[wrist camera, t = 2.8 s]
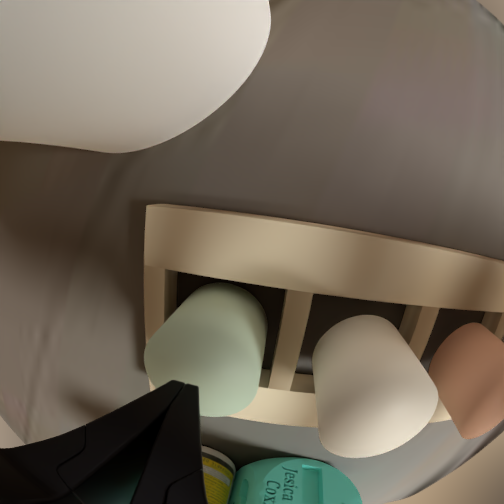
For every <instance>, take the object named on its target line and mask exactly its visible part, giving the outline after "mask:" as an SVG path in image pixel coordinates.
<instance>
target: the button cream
mask: <svg viewBox="0 0 504 504" xmlns="http://www.w3.org/2000/svg"><path fill="white" fill-rule="evenodd" d="M312 368H313V377H314V387H315V396H316V407H317V418H318V430H319V439H320V442H321V444H322V445H323V446H324V448H325V449H327V450H328V451H329V452H331V453H333V454H335V455H338V456H342V457H348V458H363V457H370V456H375V455H379V454H382V453H385V452H388V451H390V450H393V449H395V448H397V447H399V446H401V445H402V444H404V443H406V442H407V441H409V440H410V439H411V438H413V437H414V436H415V435H416V434H418V433H419V432H420V431H421V430H422V429H423V428H424V427H425V425H426V424H427V423H428V422H429V420H430V419H431V417H432V416H433V414H434V412H435V409H436V407H437V403H438V391H437V387H436V386H435V384H434V382H433V381H432V379H431V378H430V376H429V375H428V373H427V372H426V370H425V369H424V367H423V366H422V364H421V363H420V361H419V360H418V358H417V357H416V356H415V354H414V353H413V351H412V350H411V348H410V347H409V346H408V344H407V343H406V341H405V340H404V339H403V337H402V336H401V334H400V333H399V332H398V330H397V329H396V327H395V326H394V325H393V324H392V323H391V322H389V321H388V320H386V319H384V318H382V317H379V316H375V315H359V316H354V317H351V318H347V319H345V320H343V321H341V322H339V323H337V324H336V325H334V326H333V327H331V328H330V329H329V330H328V331H327V332H326V333H325V334H324V335H323V336H322V337H321V338H320V340H319V341H318V343H317V345H316V347H315V349H314V352H313V356H312Z"/></svg>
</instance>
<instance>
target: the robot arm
mask: <svg viewBox="0 0 504 504" xmlns="http://www.w3.org/2000/svg"><path fill="white" fill-rule="evenodd" d="M0 504H208V500H207V496H206V489H205V482H204V471H203V459H202V444H201V426H200V402H199V387H198V386H197V385H192V384H189V383H187V384H185V383H184V382H181V381H177V380H171V381H169V382H167V383H165V384H164V385H162V386H160V387H158V388H156V389H155V390H153V391H151V392H149V393H147V394H145V395H143V396H142V397H140V398H138V399H136V400H134V401H132V402H130V403H128V404H126V405H124V406H122V407H120V408H119V409H117V410H115V411H113V412H111V413H109V414H106V415H104V416H102V417H100V418H98V419H96V420H94V421H92V422H90V423H88V424H86V426H85V425H83V426H81V427H79V428H77V429H74V430H72V431H69V432H67V433H64V434H62V435H59V436H56V437H53V438H50V439H46V440H43V441H39V442H35V443H31V444H27V445H24V446H19V447H14V448H5V449H3V448H2V449H1V448H0Z"/></svg>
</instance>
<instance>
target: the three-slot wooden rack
mask: <svg viewBox="0 0 504 504" xmlns="http://www.w3.org/2000/svg"><path fill="white" fill-rule="evenodd" d="M178 271H179V272H185V273H190V274H196V275H202V276H208V277H213V278H219V279H225V280H231V281H237V282H244V283H250V284H256V285H263V286H269V287H276V288H282V289H286V291H285V297H284V302H283V308H282V313H281V319H280V324H279V330H278V335H277V340H276V345H275V350H274V355H273V360H272V365H271V370H267V369H261V374H260V380H259V386H258V390H257V394H256V396H255V398H254V399H253V401H252V402H251V403H250V404H249V405H248V406H247V407H246V408H244V409H243V410H241V411H239V412H237V413H235V414H232V415H228V416H230V417H235V418H240V419H246V420H252V421H259V422H266V423H273V424H282V425H291V426H303V427H318V418H317V407H316V396H315V387H314V377H313V375H306V374H297V373H295V370H296V366H297V362H298V358H299V354H300V350H301V346H302V342H303V338H304V333H305V329H306V325H307V320H308V316H309V311H310V307H311V302H312V297H313V293H317V294H325V295H332V296H340V297H348V298H356V299H364V300H372V301H381V302H390V303H399V304H407V306H406V309H405V312H404V315H403V318H402V321H401V324H400V327H399V330H398V332H399V333H400V334H401V336H402V337H403V339H404V340H405V341H406V343H407V344H408V346H409V347H410V348H411V350H412V351H413V353H414V354H415V356H416V357H417V358H418V360H419V361H420V359H421V356H422V354H423V352H424V349H425V347H426V344H427V342H428V339H429V337H430V334H431V331H432V329H433V326H434V323H435V320H436V318H437V315H438V312H439V309H440V308H450V309H462V310H474V311H485V314H484V317H483V320H482V323H481V324H482V325H483V326H484V327H486V328H487V329H488V330H489V331H490V332H492V333H493V334H494V335H495V336H496V337H498V338H499V339H500V340H502V338H503V335H504V261H501V260H497V259H493V258H489V257H485V256H481V255H477V254H472V253H468V252H464V251H459V250H455V249H450V248H446V247H441V246H436V245H432V244H427V243H422V242H417V241H412V240H407V239H402V238H397V237H391V236H386V235H381V234H375V233H370V232H364V231H359V230H353V229H347V228H341V227H335V226H329V225H323V224H317V223H310V222H304V221H297V220H291V219H284V218H277V217H270V216H263V215H255V214H248V213H240V212H232V211H224V210H216V209H208V208H199V207H190V206H181V205H171V204H154V205H147V207H146V222H145V242H144V318H145V338H146V345H147V343H148V341H149V339H150V338H151V337H152V336H153V335H154V334H155V332H156V331H157V330H158V329H159V328H160V327H161V326H162V325H163V324H164V323H165V322H166V321H167V319H168V318H169V317H170V316H171V315H172V314H173V313H174V312H175V311H176V300H177V273H178ZM149 383H150V392H151V391H153V390H155V389H156V388H155V387H154V385H153V384H152V382H151V381H150V379H149ZM450 419H452V418H451V417H450V415H449V413H448V411H447V410H446V408H445V406H444V405H443V403H442V401H441V400H440V398H439V397H438V403H437V407H436V409H435V412H434V414H433V416H432V417H431V419H430V420H429V422H428V423H432V422H439V421H445V420H450Z"/></svg>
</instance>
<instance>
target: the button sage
mask: <svg viewBox="0 0 504 504" xmlns="http://www.w3.org/2000/svg"><path fill="white" fill-rule="evenodd" d="M267 330H268V321H267V316H266V313H265V311H264V309H263V307H262V305H261V304H260V302H259V301H258V300H257V299H256V298H255V297H254V296H253V295H252V294H251V293H249V292H248V291H246V290H245V289H243V288H241V287H239V286H236V285H233V284H229V283H210V284H207V285H204V286H202V287H200V288H198V289H197V290H195V291H194V292H193V293H192V294H191V295H190V296H189V297H188V298H187V299H186V300H185V301H184V302H183V303H182V304H181V305H180V306H179V308H178V309H177V310H176V311H175V312H174V313H173V314H172V315H171V316H170V317H169V318H168V319H167V321H166V322H165V323H164V324H163V325H162V326H161V327H160V328H159V329H158V330H157V331H156V332H155V334H154V335H153V336H152V337H151V338H150V339H149V341H148V343H147V345H146V348H145V352H144V364H145V369H146V372H147V375H148V377H149V379H150V381H151V382H152V384H153V385H154V387H155V388H158V387H160V386H162V385H164V384H165V383H167V382H169V381H171V380H177V381H181V382H184V383H185V384H187V383H189V384H192V385H197V386H198V387H199V402H200V415H201V416H208V417H221V416H228V415H232V414H235V413H237V412H239V411H241V410H243V409H244V408H246V407H247V406H248V405H249V404H250V403H251V402H252V401H253V399H254V398H255V396H256V394H257V390H258V386H259V380H260V374H261V368H262V362H263V356H264V350H265V343H266V337H267Z"/></svg>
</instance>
